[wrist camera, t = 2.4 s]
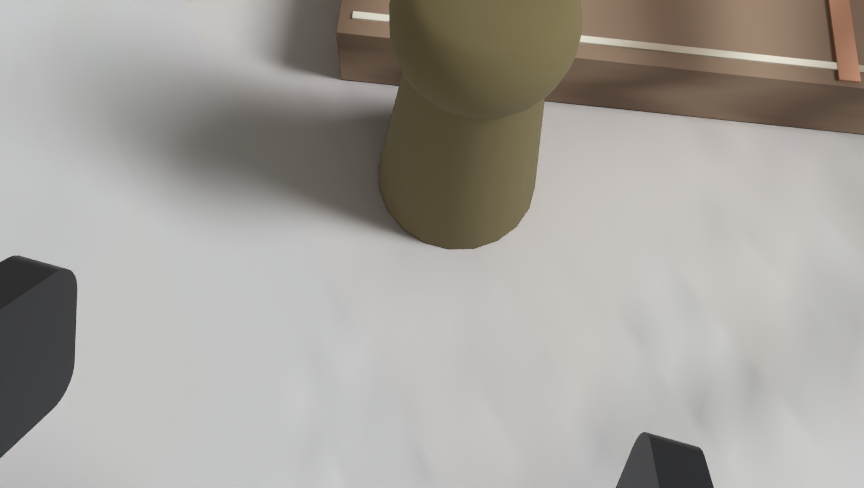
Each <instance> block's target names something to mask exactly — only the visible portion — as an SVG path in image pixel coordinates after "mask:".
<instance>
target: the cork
mask: <svg viewBox="0 0 864 488" xmlns="http://www.w3.org/2000/svg"><path fill="white" fill-rule="evenodd" d="M389 26H390V44H391V46H392V49H393V51H394V54H395V56H396V58H397V61H398V63H399V66H400V68H401V70H402V77H401V81H400V85H399V89H398V93H397V97H396V101H395V105H394V109H393V112H392V116H391V120H390V124H389V128H388V132H387V136H386V140H385V144H384V148H383V152H382V156H381V160H380V164H379V189H380V192H381V195H382V197H383V200H384V203H385V205H386V208H387V210H388V212H389V213H390V214H391V215H392V216H393V218H394V219H395V220H396V221H397V222H398V224H399V225H400V226H401V227H402V229H404V230H405V231H407V232H409V233H410V234H412V235H413V236H415V237H416V238H418V239H419V240H421V241H423V242H425V243H428V244H432V245H435V246H439V247H442V248H446V249H474V248H477V247H480V246H483V245H486V244H489V243H492V242H495V241H498V240H499V239H501V238H502V237H503V236H505V235H506V234H507V233H509V232H510V231H511V230H513V229H514V228H515V227H517V225H518V224H519V222H520V221H521V219H522V218H523V216H524V215H525V213H526V212H527V211H528V209H529V207H530V203H531V199H532V195H533V191H534V188H535V180H536V171H537V162H538V153H539V144H540V135H541V126H542V117H543V108H544V99H545V98H546V97H547V96H548V95H549V94H550V93H551V92H552V91H553V90H554V89H555V88H556V87H557V85H558V84H559V83H560V81H561V80H562V79H563V77H564V76H565V74H566V73H567V72H568V70H569V69H570V67H571V66H572V63H573V61H574V59H575V56H576V54H577V50H578V46H579V42H580V38H581V34H582V30H583V12H582V5H581V0H390V2H389Z"/></svg>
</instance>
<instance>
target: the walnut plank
mask: <svg viewBox="0 0 864 488" xmlns="http://www.w3.org/2000/svg"><path fill="white" fill-rule="evenodd" d="M389 2H390V0H342V1H341V7H340V13H339V19H338V25H337V31H336V34H337V43H338V53H339V62H340V71H341V79H343V80H353V81H362V82H372V83H381V84H391V85H400V81H401V77H402V70H401V68H400V66H399V63H398V61H397V58H396V56H395V54H394V51H393V49H392V46H391V44H390V26H389ZM581 5H582V12H583V30H582V34H581V38H580V42H579V46H578V50H577V54H576V56H575V59H574V61H573V63H572V66H571V67H570V69H569V70H568V72H567V73H566V74H565V76H564V77H563V79H562V80H561V81H560V83H559V84H558V85H557V87H556V88H555V89H554V90H553V91H552V92H551V93H550V94H549V95H548V96H547V97H546V98H545V99H544V101H552V102H562V103H571V104H581V105H590V106H600V107H609V108H619V109H628V110H638V111H647V112H657V113H666V114H676V115H685V116H695V117H704V118H714V119H723V120H733V121H742V122H752V123H761V124H771V125H780V126H790V127H799V128H809V129H818V130H828V131H837V132H847V133H856V134H864V0H581Z"/></svg>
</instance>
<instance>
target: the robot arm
mask: <svg viewBox="0 0 864 488" xmlns="http://www.w3.org/2000/svg"><path fill="white" fill-rule="evenodd" d="M76 306H77V281H76V278H75V275H74V274H73V272H72V271H70V270H68V269H65V268H61V267H58V266H54V265H50V264H47V263H43V262H40V261H36V260H32V259H29V258H25V257H22V256H11V257H9V258H7V259H5V260H3V261H2V262H0V458H1V457H2V456H3V455H4V454H5V453H6V452H7V451H8V450H9V449H11V448H12V447H13V446H14V445H15V444H16V443H17V442H18V441H19V440H20V439H21V438H22V437H23V436H24V435H25V434H27V433H28V432H29V431H30V430H31V429H32V428H33V427H34V426H35V425H36V424H37V423H38V422H39V421H40V420H41V419H43V418H44V417H45V416H46V415H47V414H48V413H49V412H50V411H51V410H52V409H53V408H54V407H55V406H56V405H57V404H58V402H59V401H60V400H61V398H62V397H63V395H64V393H65V391H66V390H67V387H68V385H69V383H70V380H71V377H72V374H73V369H74V361H75V334H76ZM616 488H714V487H713V484H712V481H711V477H710V474H709V470H708V467H707V463H706V460H705V457H704V454H703V451H702V450H701V449H700V448H699V447H696V446H693V445H689V444H686V443H682V442H678V441H675V440H671V439H668V438H664V437H661V436H657V435H653V434H650V433H646V432H643V433H641V434H640V435H639V437H638V438H637V440H636V442H635V444H634V446H633V448H632V450H631V453H630V455H629V458H628V460H627V462H626V465H625V467H624V469H623V472H622V474H621V477H620V479H619V481H618V484H617V486H616Z"/></svg>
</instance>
